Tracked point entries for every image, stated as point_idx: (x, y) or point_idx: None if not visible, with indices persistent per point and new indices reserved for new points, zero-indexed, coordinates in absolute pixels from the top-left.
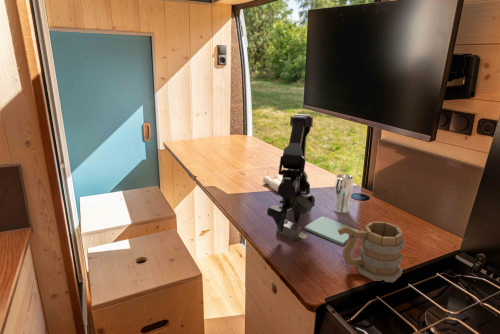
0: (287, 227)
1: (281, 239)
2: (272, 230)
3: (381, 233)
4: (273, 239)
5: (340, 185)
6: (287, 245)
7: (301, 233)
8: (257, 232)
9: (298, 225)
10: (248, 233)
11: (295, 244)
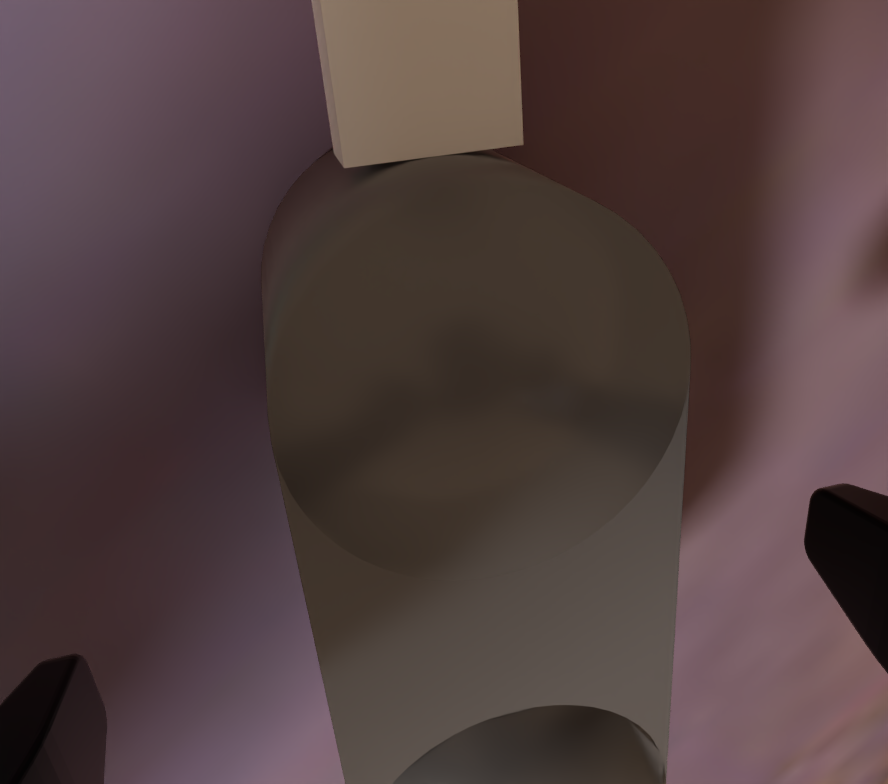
0: (678, 544)
1: (704, 390)
2: None
3: None
4: (799, 473)
5: None
6: (826, 124)
7: (413, 109)
8: (774, 751)
9: (287, 459)
10: (872, 775)
11: (674, 16)
